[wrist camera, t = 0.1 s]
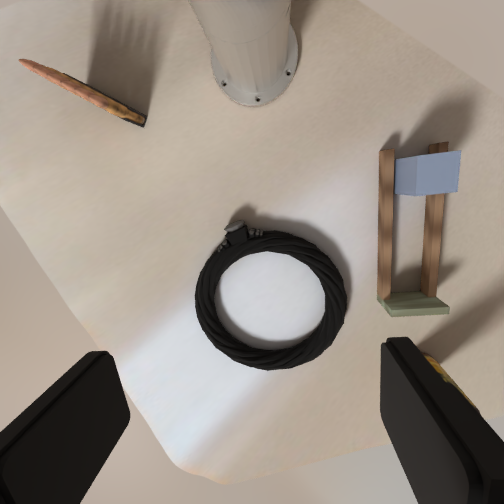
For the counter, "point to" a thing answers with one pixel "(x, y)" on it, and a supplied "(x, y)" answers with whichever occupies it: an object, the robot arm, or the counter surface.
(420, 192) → the block
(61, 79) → the ammunition clip
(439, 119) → the counter surface
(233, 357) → the cable lock
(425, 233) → the track
